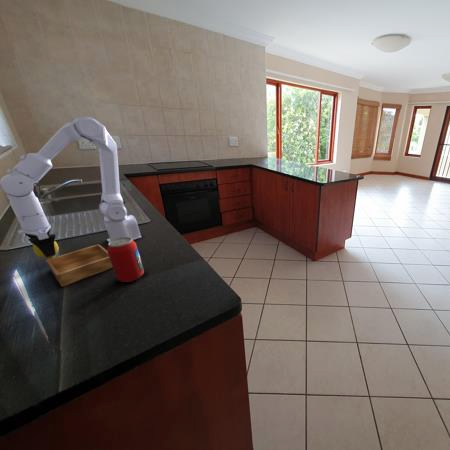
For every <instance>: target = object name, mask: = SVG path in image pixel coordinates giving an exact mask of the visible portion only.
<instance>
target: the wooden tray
mask: <svg viewBox="0 0 450 450" xmlns="http://www.w3.org/2000/svg"><path fill="white" fill-rule="evenodd" d="M45 261H46V264H47V265H48V267H49V270H50V271H51V273H52V275H53V276H54V277H55V279H56V281H57V282H58V283H59V284H60V286H61V287H65V286H67V285H70V284H73V283H76V282H79V281H80V280H81V281H82V280H83V279H86V278H89V277H91V276H94V275H96V274H99V273H102V272H105V271H108V270H110V269H113V266H112V264H111V261H110V258H109V255H108V252H107V249H106V248H105V247H103V246H102V245H101V244H99V243H98V244H95V245H90V246H88V247H84V248H81V249H78V250H74V251H70V252H68V253H65V254H61V255H58V256H53V258H51V259H49V258H47V259H45Z"/></svg>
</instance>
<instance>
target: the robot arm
mask: <svg viewBox="0 0 450 450" xmlns="http://www.w3.org/2000/svg"><path fill="white" fill-rule="evenodd" d="M83 139H85V140H87V141H89V142H90V143H91V144H93V145H94V146H95V147H96V148H97V149H98V155H99V167H100V178H101V191H102V194H101V197H100V199H101V200H100V203H99V205H98V210H99V212H100V213H101V214H102V215H104V218H103V223H104V226H105V228H106V231H107V234H108V237H109V238H107V239H106V241H107V242H108V243H109V242H110V241H112V240H114V239H118V238H123V237H129V238H131V239H132V240H133V241H135V240H138V239H141V238H142V235H141V232H140V228H139V225H138V222H137V219H136V217H135V216H134V215H132V214H130V215H128V210H127V208H126V207H125V205H124V200H123V197H122V195H121V188H120V173H119V158H118V146H117V142H116V141H115V140H114V139H113V138H112V136H111V135H110V133H109V132H108V130H107V129H106V126H105V125H103V124H102V123H101V122H100V121H98V120H97V119H95V118H93V117H91V116H76V117H73V118H72V119H70V122H66V123H65V124H64V125H62V127H60V128H59V129H58V130H57V131H56V132H55V133H54V134H53V136H51V137H50V139H49V140H48V141H47V142H46V143H45V144H44V145H43V147H41V149H39V151H38V152H28V153H27V154H26V155H24V154H21V156H20V157H19V159H20V161H19V162H18V163H17V164H16V165H15V166H14V167H13V168H12V169H11V168H9V169H7V171H6V173H8V174H5V175H4V176H2V177H1V179H0V187H1V189H2V190H3V191H4V192H5V193H6V198H7V199H8V201H9V205H10V207H11V209H12V211H13V212H14V215H15V217H16V218H17V220H18V223H19V225H20V226H21V229H19V230H17V233H18V235H23V234H24V235H25V236H26V237H28V241H29V242H30V243H31V244H32V245H33V244H34V245H36V246H37V247H38V248H39V249H40V250H41V252H42V253H43V254H44V255H45V256H46V257H50V256H53V255H55V247H54V241H55V240H56V238H57V237H56V236H57V235H56V234H55V233H52V234H50V231H51V228H52V225H51V223H49V221H48V219H47V216H46V213H45V212H44V210H43V207H42V205H41V203H40V200H39V198H38V197H37V196H36V195H35V193H34V188H35V186H34V184H37V183H38V182H40V180H42V178H43V177H44V176H45V175H46V174H47V173H48V172H49V171H50V170H51V169H52V168H53V164H52V160H53V159H54V158H55V157H56V156H57V155H58V154H59V153H61V151H62V150H63V149H65V148H66V147H67V145H69V144H70V143H71V142H74V141H80V140H83ZM55 256H56V255H55ZM53 257H54V256H53Z"/></svg>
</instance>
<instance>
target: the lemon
mask: <svg viewBox="0 0 450 450" xmlns="http://www.w3.org/2000/svg"><path fill="white" fill-rule="evenodd" d="M54 247H55V255H53V256H50V257H46V256H45V255H44V254H43V253H42V252H41V250H40V249H39V248H38V247H37V246H36V245H34V244H33V243H32V250H33V252H34V254H35V255H36V256H37V257H39V258H42V259H51V258H54V257H56V255H58V253H59V250H60V249H59V248H60V247H59V245H58V243H57V242H56V241H55V240H54Z"/></svg>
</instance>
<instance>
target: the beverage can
mask: <svg viewBox="0 0 450 450" xmlns="http://www.w3.org/2000/svg"><path fill="white" fill-rule="evenodd" d="M106 250H107V252H108V255H109V258H110V261H111V264H112V266H113V268H112V269H113V272H114V274H115V277H116V279H117V281H118V282H122V283H131V282H134V281H136V280H138V279H140V277H142V276H143V275H144V274H145V269H144V266H143V263H142V258H141V256H140V252H139V249H138V246H137V243H136V242H135V240H132V239H131V238H129V237H123V238H118V239H114V240H112V241H110V242H108V243H107V248H106Z"/></svg>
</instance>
